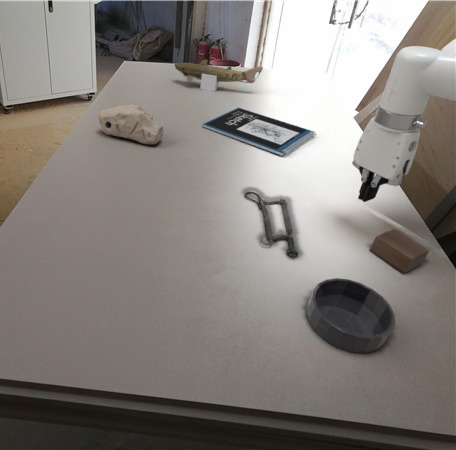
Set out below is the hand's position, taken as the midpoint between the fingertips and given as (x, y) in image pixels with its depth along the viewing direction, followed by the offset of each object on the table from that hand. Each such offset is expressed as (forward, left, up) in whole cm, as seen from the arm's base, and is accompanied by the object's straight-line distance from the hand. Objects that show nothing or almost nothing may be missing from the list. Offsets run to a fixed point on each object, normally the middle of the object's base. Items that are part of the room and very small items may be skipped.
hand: (365, 198), depth 88 cm
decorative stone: (+24, -64, -8) cm, 69 cm away
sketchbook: (-16, -49, -8) cm, 52 cm away
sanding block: (+1, +11, -8) cm, 14 cm away
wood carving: (-28, -89, -8) cm, 94 cm away
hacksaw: (+16, -10, -8) cm, 21 cm away
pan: (+24, +18, -8) cm, 31 cm away
